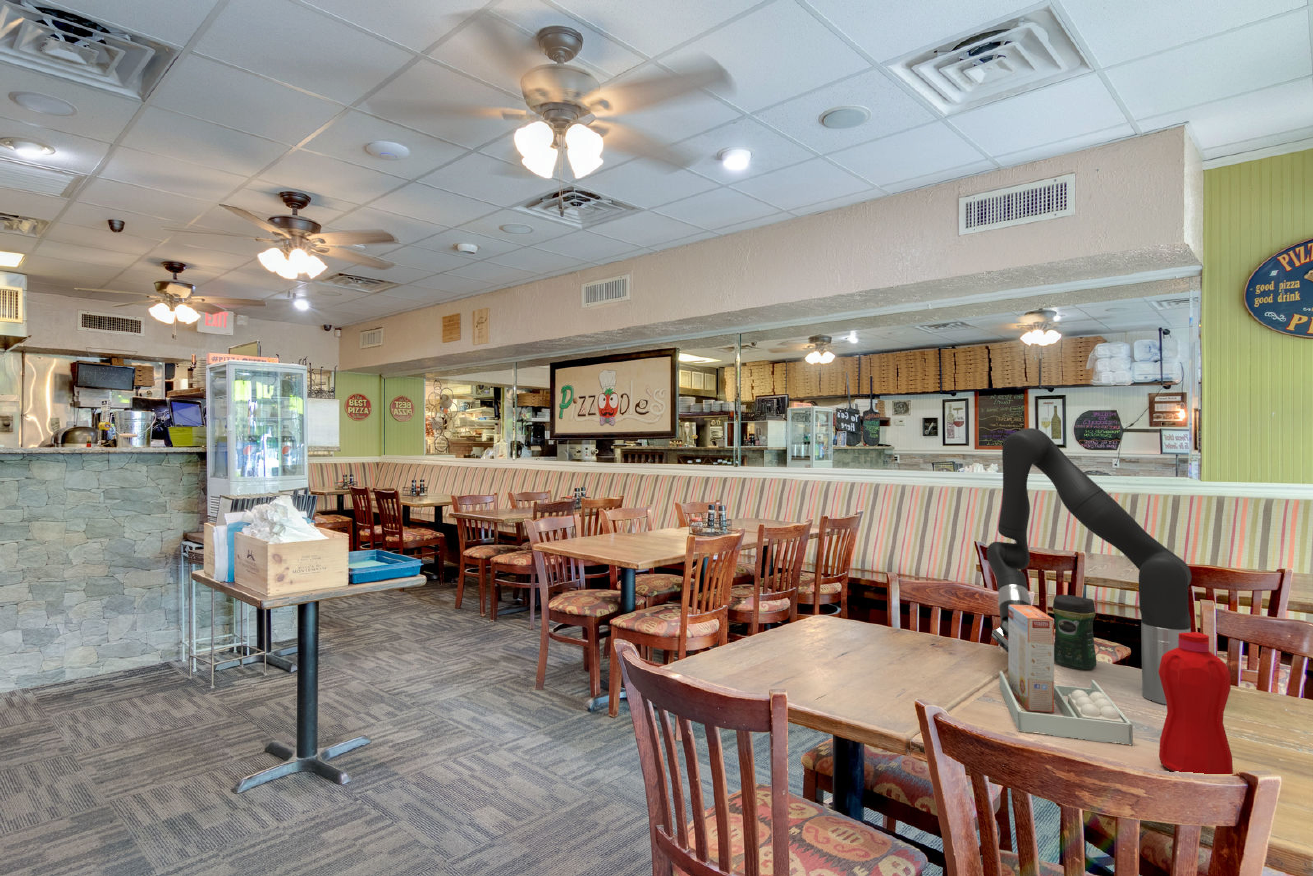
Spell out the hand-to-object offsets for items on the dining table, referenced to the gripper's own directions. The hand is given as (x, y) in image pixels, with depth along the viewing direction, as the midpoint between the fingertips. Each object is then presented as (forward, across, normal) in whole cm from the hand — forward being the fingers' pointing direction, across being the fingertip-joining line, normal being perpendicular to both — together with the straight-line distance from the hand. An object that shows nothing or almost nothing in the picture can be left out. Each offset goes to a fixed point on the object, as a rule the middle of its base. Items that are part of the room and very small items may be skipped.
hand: (1023, 667), depth 168 cm
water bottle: (+31, +21, -24) cm, 44 cm away
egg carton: (+19, +10, -12) cm, 24 cm away
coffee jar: (-14, +16, +21) cm, 30 cm away
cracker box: (+10, 0, -3) cm, 11 cm away
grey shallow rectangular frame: (+15, +4, -8) cm, 17 cm away
